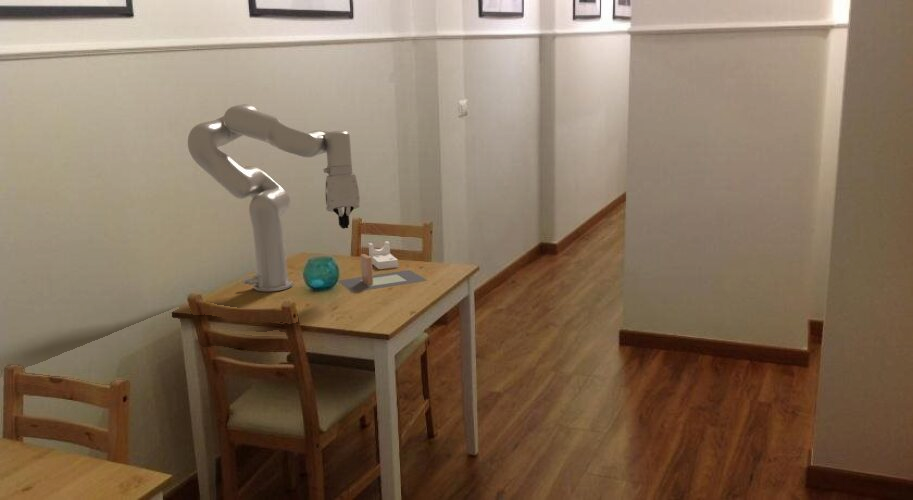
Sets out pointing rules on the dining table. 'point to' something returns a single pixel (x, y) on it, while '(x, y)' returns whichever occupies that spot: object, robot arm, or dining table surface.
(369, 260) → the tile
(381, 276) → the mat
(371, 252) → the bracket
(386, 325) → the dining table surface
